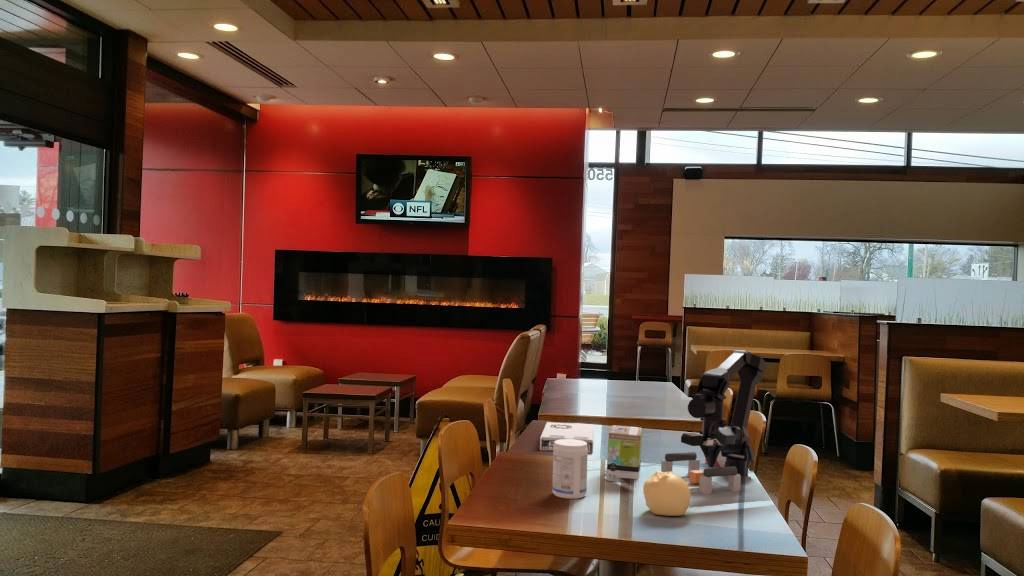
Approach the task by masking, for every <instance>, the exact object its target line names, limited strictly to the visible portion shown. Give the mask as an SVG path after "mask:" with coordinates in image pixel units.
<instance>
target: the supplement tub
mask: <svg viewBox="0 0 1024 576" xmlns="http://www.w3.org/2000/svg"><path fill="white" fill-rule="evenodd" d="M587 452H588V450H587V443H586V442H585V441H582V440H576V439H560V440H556V441H555V442H554V448H553V451H552V489H551V490H552V491H551V492H552V494H553V496H555V497H558V498H560V499H568V500H575V499H581V498H584V497H585V496H586V495H587V491H588V489H587V488H588V485H587V484H588V483H587V482H588V453H587Z"/></svg>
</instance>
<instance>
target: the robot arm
mask: <svg viewBox="0 0 1024 576" xmlns="http://www.w3.org/2000/svg"><path fill="white" fill-rule="evenodd" d="M766 371H767V362H766V361H765V360H764V359H763V357H760V356H758V355H756V354H753V353H752V352H750V351H749V350H743V349H733V351H732V352H731V354H730V355H729V356H728V357H727V358H726V359H725V360H724V361H723V362H722V363H721V364H720V365H719V366H718V367H716V368H712V369H708V370H707V371H705V372H703V374H702V375H701V377H700V379H699V382H698V384H697V386H696V389H695V392H694V394H693V395H694V398H692V399H690V401H689V402H688V404H687V411H688V413H689V415H690V416H691V417H693V418H695V419H700V421H702V430H699V434H697V433H694V432H684V433H682V434H681V436H680V443H682V444H686V445H688V446H691V447H699V448H700V449H701V451H702V453H703V455H704V457H705V459H706V461H707V463H708V464H707V465H708V468H715V466H714V465H715V462H716V460H717V457H718V455H719V453H720V451H721V455H722V457H726V462H725V467H733V466H735V467H736V468H737V471H738V472H737V474H739V475H741V477H742V476H743V477H744V478H747V479H750V480H751V479H752V476H751V477H750V476H749V462H752V461H753V460H754V457H755V456H754V455H755V451H754V450H753V448H752V445H751V444H750V443H751V442H750V441H751V437H750V435H749V432H748V423H749V420H750V414H751V409H752V405H753V401H754V395H755V390H756V386H757V385H758V384H759V383H760V382H761V381H762V380H763V378H764V375H765V372H766ZM736 374H737V376H738V378H739V380H740V381H739V386H738V391H737V395H736V400H735V405H734V409H733V414H732V419H731V423H730V425H729V426H727V420H726V419H724V400H726V399H727V396H726V395H725V393H726V392H727V390H728V389H729V388H730V386H731V385H730V380H731V379H732V378H733V377H734V376H735V375H736ZM708 438H710V439H708Z"/></svg>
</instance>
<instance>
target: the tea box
mask: <svg viewBox="0 0 1024 576" xmlns="http://www.w3.org/2000/svg"><path fill="white" fill-rule="evenodd" d="M642 441H643V428H642V427H638V426H630V425H629V426H628V425H618V424H617V425H615V424H614V425H613V424H612V425H611V427H610V429H609V433H608V442H607V461H606V477H605V478H606V481H608V482H615V481H619V482H618V483H625V482H627V481H626V480H624V479H633V480H634V479H635V480H639V478H640V473H641V463H642V447H643V445H642V444H643V442H642Z"/></svg>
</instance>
